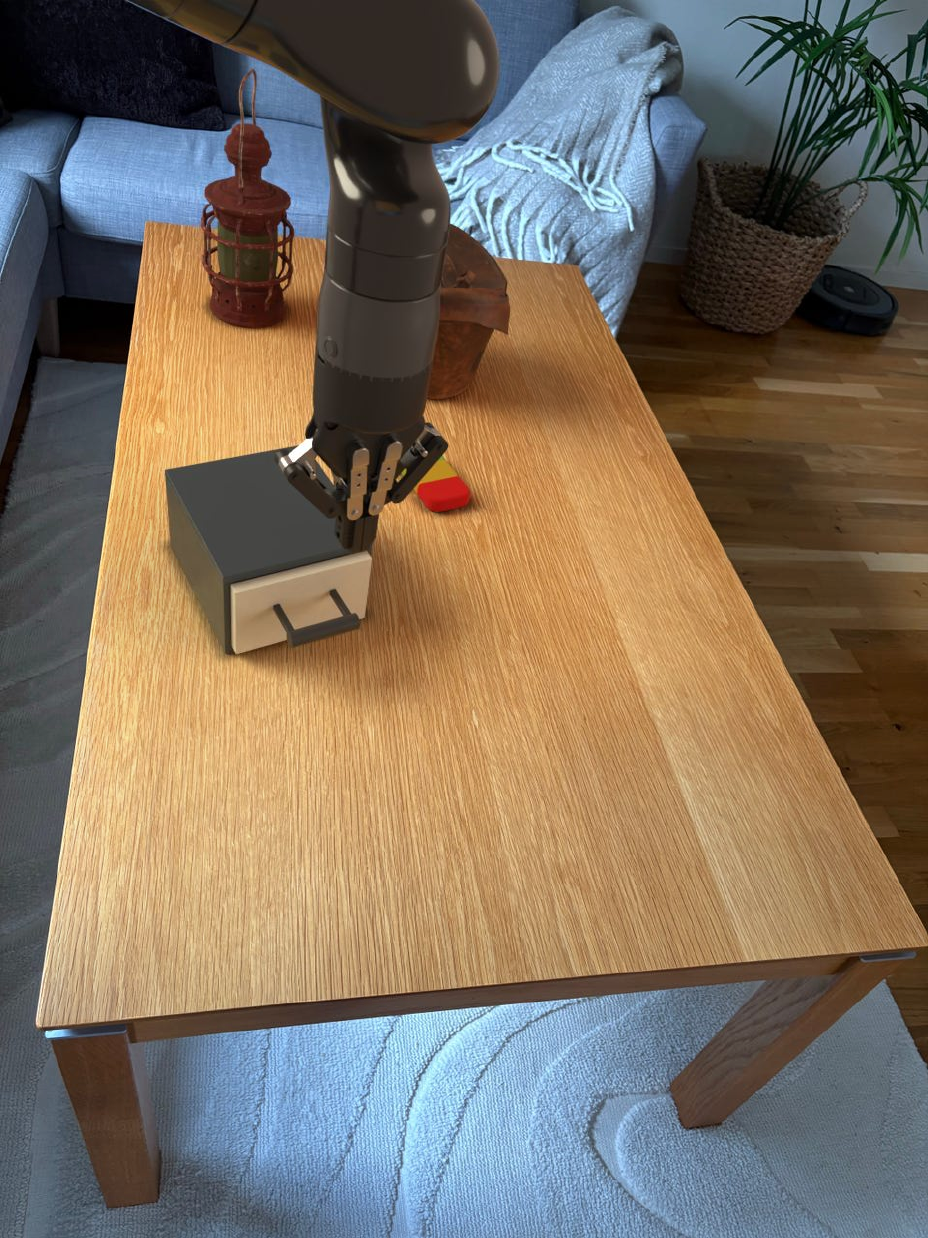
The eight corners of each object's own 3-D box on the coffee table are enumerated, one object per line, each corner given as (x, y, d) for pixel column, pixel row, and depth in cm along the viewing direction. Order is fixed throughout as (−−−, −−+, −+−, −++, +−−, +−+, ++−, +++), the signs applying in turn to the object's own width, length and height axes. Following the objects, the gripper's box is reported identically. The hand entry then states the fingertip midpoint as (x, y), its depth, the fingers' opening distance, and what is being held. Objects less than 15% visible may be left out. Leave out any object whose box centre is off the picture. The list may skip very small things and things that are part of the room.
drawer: (387, 652, 88) (396, 593, 82) (256, 693, 82) (256, 632, 76) (305, 525, 99) (308, 465, 93) (183, 553, 93) (179, 491, 87)
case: (454, 433, 117) (479, 301, 104) (328, 369, 122) (337, 236, 110) (521, 380, 129) (551, 255, 116) (403, 324, 134) (419, 199, 122)
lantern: (281, 338, 126) (288, 98, 105) (192, 321, 125) (180, 76, 104) (299, 297, 135) (309, 68, 114) (216, 281, 134) (210, 48, 113)
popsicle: (431, 515, 105) (433, 502, 103) (374, 440, 113) (375, 427, 112) (472, 506, 107) (475, 493, 106) (413, 433, 116) (415, 420, 114)
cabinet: (364, 614, 92) (373, 541, 85) (225, 654, 86) (223, 577, 79) (300, 517, 101) (304, 443, 94) (170, 546, 94) (164, 469, 87)
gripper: (438, 301, 63) (407, 499, 76) (254, 323, 57) (252, 534, 70) (494, 358, 59) (452, 557, 72) (302, 388, 53) (292, 600, 66)
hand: (353, 545), depth 71 cm, fingers closed
